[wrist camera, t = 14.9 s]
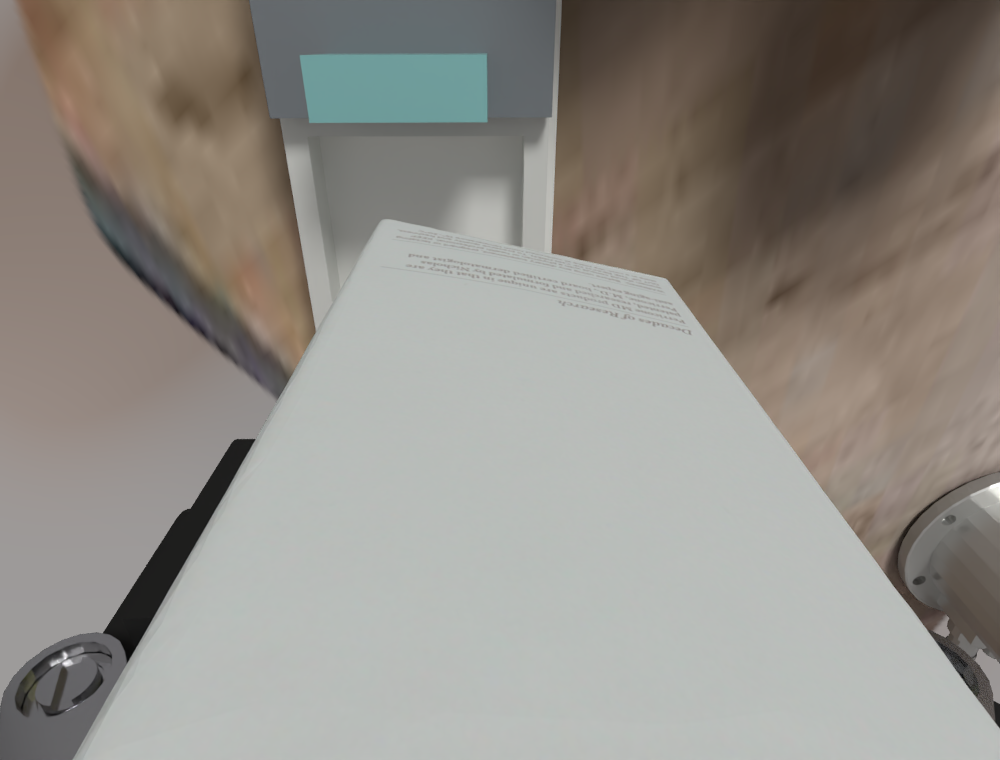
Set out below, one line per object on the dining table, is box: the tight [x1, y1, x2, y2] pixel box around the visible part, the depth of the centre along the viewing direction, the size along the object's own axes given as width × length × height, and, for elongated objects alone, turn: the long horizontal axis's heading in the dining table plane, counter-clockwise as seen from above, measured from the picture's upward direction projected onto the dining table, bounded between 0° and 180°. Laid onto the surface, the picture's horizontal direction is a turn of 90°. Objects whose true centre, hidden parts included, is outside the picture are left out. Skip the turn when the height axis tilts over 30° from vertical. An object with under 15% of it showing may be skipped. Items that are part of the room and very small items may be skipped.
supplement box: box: [73, 219, 1000, 760], centre depth 11 cm, size 7×7×13 cm
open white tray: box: [280, 0, 562, 331], centre depth 26 cm, size 20×12×3 cm, turn 0°
